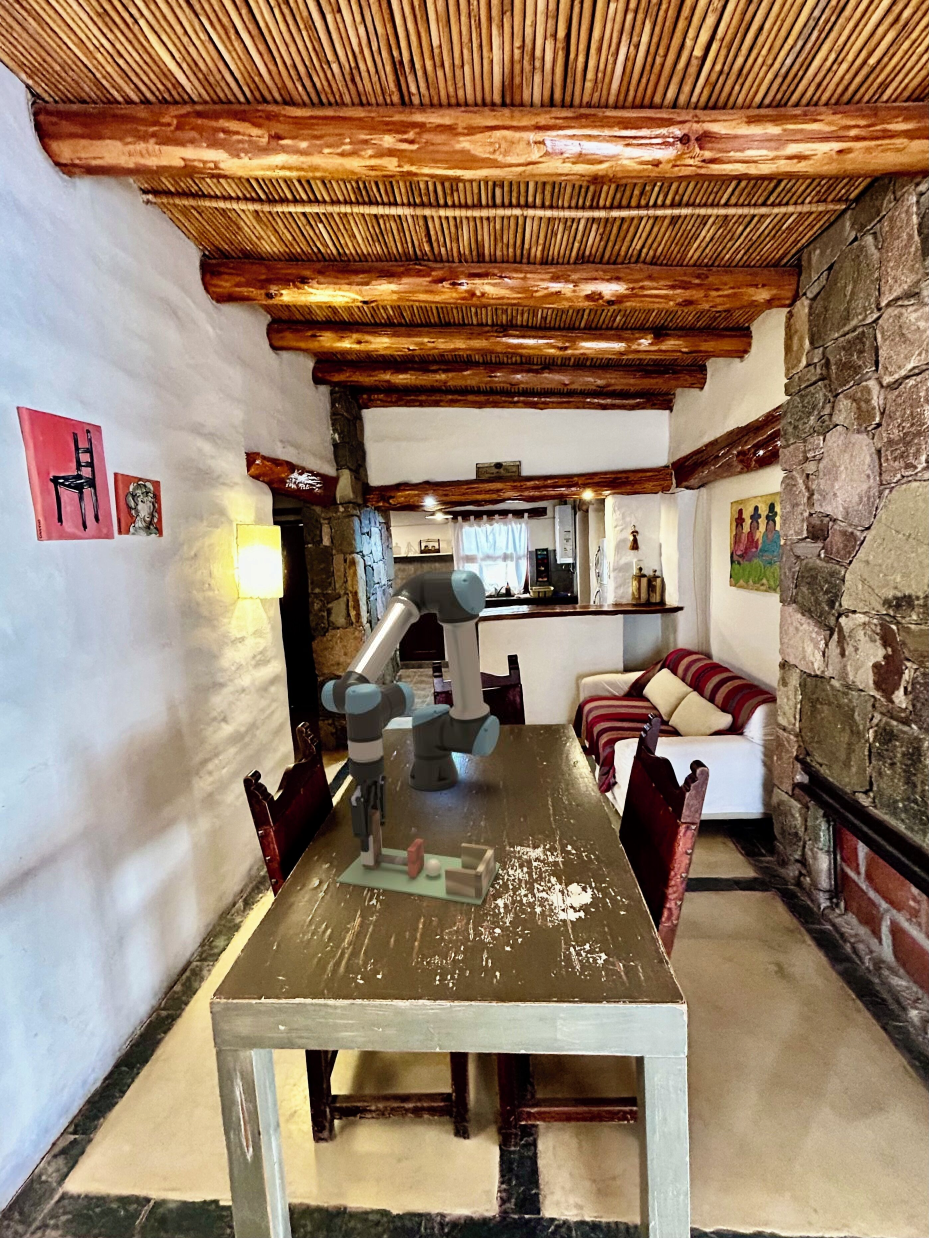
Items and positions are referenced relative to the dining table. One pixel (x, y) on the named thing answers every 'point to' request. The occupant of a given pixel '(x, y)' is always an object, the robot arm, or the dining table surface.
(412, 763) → the robot arm
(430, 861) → the ball
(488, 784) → the dining table surface
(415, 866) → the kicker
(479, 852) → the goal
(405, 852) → the mat
